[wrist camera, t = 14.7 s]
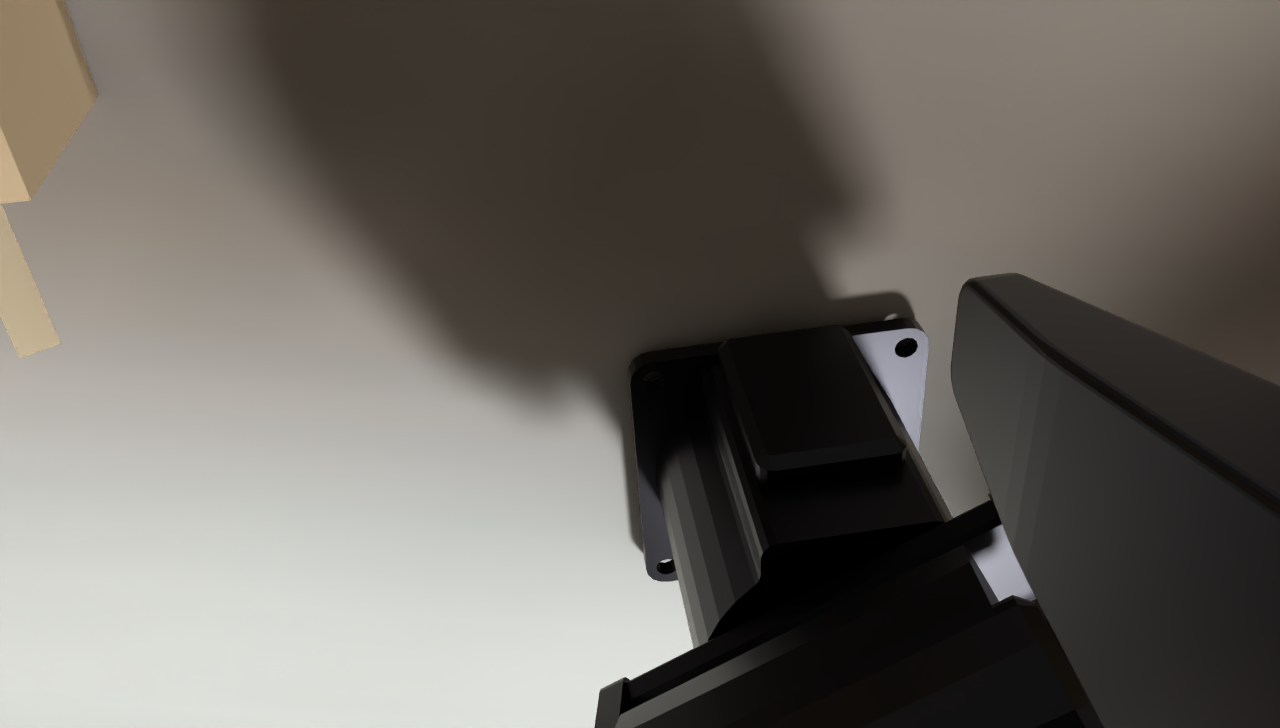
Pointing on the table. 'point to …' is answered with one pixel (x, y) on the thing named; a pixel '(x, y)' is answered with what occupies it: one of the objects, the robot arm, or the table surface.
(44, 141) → the carton
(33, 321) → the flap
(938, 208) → the table surface
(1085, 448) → the robot arm
